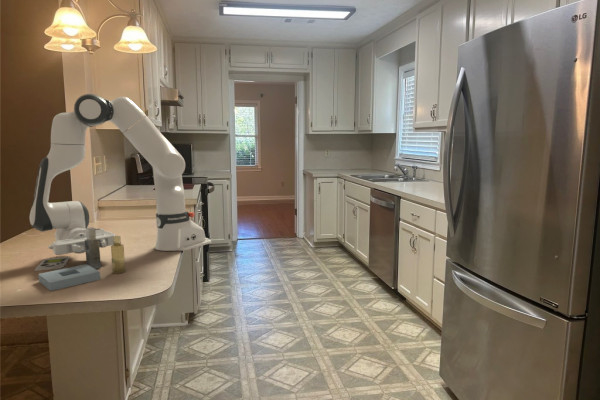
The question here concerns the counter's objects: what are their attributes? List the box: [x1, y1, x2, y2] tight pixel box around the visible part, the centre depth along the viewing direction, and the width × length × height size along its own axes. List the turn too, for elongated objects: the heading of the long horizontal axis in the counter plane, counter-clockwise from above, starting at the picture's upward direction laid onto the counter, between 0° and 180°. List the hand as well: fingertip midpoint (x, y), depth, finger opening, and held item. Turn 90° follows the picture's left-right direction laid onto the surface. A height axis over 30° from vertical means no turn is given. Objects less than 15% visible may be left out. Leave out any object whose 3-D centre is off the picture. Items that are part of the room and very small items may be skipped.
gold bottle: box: [110, 235, 126, 275], centre depth 139 cm, size 4×4×12 cm
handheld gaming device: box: [34, 256, 71, 272], centre depth 151 cm, size 9×1×15 cm
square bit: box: [85, 226, 102, 270], centre depth 143 cm, size 3×3×14 cm
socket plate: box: [38, 263, 101, 292], centre depth 132 cm, size 14×12×2 cm
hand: (93, 247), depth 143 cm, fingers open, 6 cm apart
